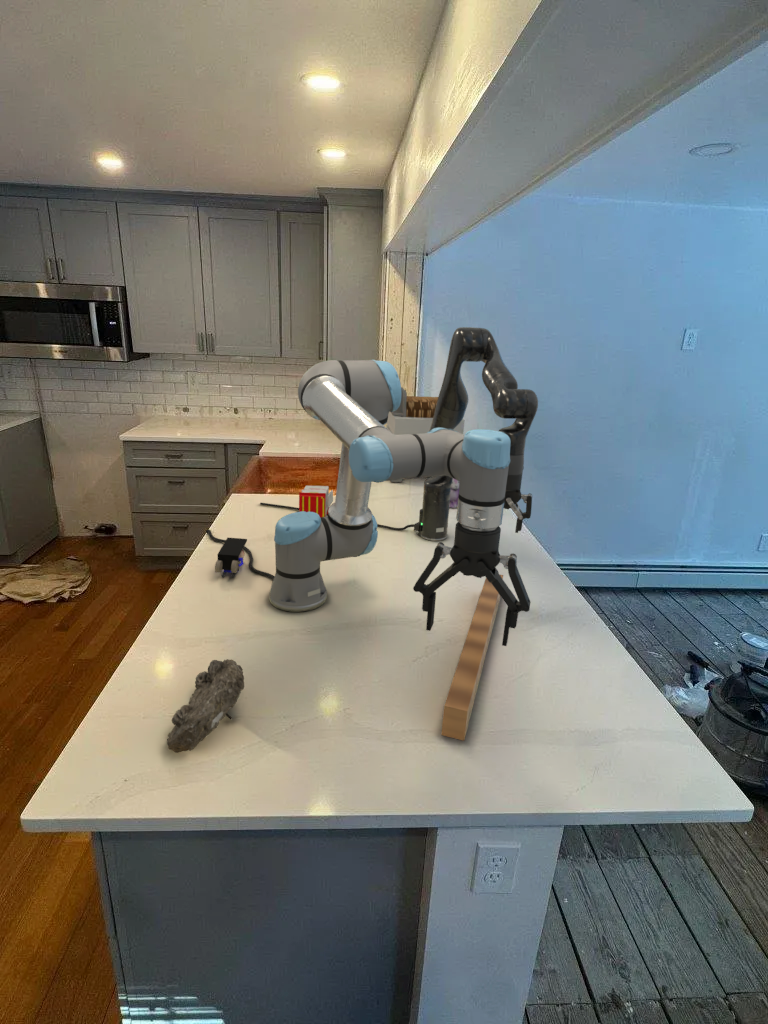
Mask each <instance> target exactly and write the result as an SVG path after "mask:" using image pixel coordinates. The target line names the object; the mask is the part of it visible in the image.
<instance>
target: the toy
mask: <svg viewBox="0 0 768 1024" xmlns="http://www.w3.org/2000/svg"><path fill="white" fill-rule="evenodd" d="M329 489H330V487H329V485H305V487H304V488H303V489H301V492H300V491H299V492H298V508H299V510H298V512H301V511H305V512H309V511H310V512H315V513H317V514H318V515H319V516H320V517H327V515H326V514H328V510H329V507H330V506H331V505H332V504H333V503H334V490H333V489H330V490H329Z"/></svg>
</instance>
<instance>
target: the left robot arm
mask: <svg viewBox="0 0 768 1024" xmlns="http://www.w3.org/2000/svg"><path fill="white" fill-rule="evenodd" d="M401 387H402V384H401V380H400V377H399V374H398V371H397V369H396V368H395V366H394V365H393V364H392V363H390V362H389V361H386V360H375V359H354V360H353V359H352V360H351V359H348V360H347V359H345V360H344V359H341V360H339V359H329V360H324V361H320V362H318V363H316V364H314V365H313V366H310V367H309V368H308V369H307V370H306V371H305V372H304V374H303V375H302V376H301V379H300V381H299V383H298V387H297V396H298V401H299V403H300V406H301V408H302V409H303V410H304V411H305V412H306V414H307V415H309V417H310V418H312V419H314V420H317V421H321V422H322V424H324V425H325V427H327V429H328V430H329V431H330V432H331V433H332V434H333V435H334V436H335V437H336V438H337V439H338V440H339V442H340V443H341V449H340V457H339V464H338V465H339V467H338V473H337V476H338V477H337V483H336V492H335V499H334V502H332V503H331V505H330V506H329V510H328V516H327V515H326V517H320V516H319V515H318V514H317V513H315V512H310V511H309V512H305V511H301V512H299V511H295V512H291V513H288V514H286V515H284V516H282V517H281V518H280V519H278V521H277V522H276V523H275V526H274V537H273V540H274V549H275V550H274V552H275V555H274V557H275V574H274V575H273V574H271V573H269V572H266V571H262V570H259V569H256V568H255V567H254V566H253V565H254V556H253V554H252V551H251V550H250V549H249V548H248V547H247V546H246V545H245V546H244V548H243V551H245V552H246V553H247V554H248V556H249V564H248V568H249V569H250V570H251V571H252V572H254V573H256V574H258V575H262V576H265V577H268V578H270V579H272V580H273V581H272V583H271V586H270V590H269V602H270V604H271V606H273V607H274V608H276V609H278V610H281V611H284V612H289V613H302V612H309V611H313V610H315V609H318V608H320V607H321V606H323V605H324V604H325V603H326V602H327V599H328V596H327V595H328V591H327V587H326V584H325V582H324V579H323V575H322V573H321V562H327V561H334V560H341V559H347V558H358V557H361V556H364V555H368V554H370V553H371V552H373V550H374V549H375V546H376V545H377V542H378V538H379V537H378V535H379V531H378V530H377V529H378V527H377V524H378V522H377V519H376V517H375V515H374V514H373V512H372V510H371V509H370V507H369V501H370V493H371V487H372V483H377V484H379V483H383V482H389V481H390V482H391V480H400V479H402V480H406V479H407V480H408V479H420V478H431V477H433V476H443V475H446V476H450V477H452V478H454V479H456V480H458V481H460V482H459V495H458V506H457V507H456V517H455V519H456V521H457V522H456V523H455V527H454V537H453V538H454V539H453V546H452V547H450V546H446V545H445V543H444V542H442V541H438V543H437V545H436V546H435V547H434V551H433V557H432V558H431V559H430V561H429V562H428V564H427V565H426V567H425V569H424V570H423V572H422V573H421V574H420V576H419V577H418V579H417V580H416V582H415V584H414V585H413V587H412V590H413V591H414V592H415V593H420V594H422V604H421V609H422V611H423V612H426V613H427V615H426V616H427V617H426V626H425V631H428V632H430V631H431V630H432V628H433V626H434V623H435V610H436V599H437V597H436V596H437V592H436V591H437V590H438V589H439V588H440V587H441V586H443V585H444V584H445V583H447V582H448V581H449V580H450V579H451V578H453V577H455V576H456V575H457V574H458V573H461V574H463V576H466V577H470V576H472V577H474V578H478V579H482V578H484V577H485V579H486V578H487V579H488V581H489V582H490V583H492V585H493V586H494V588H495V589H496V590H497V592H498V593H499V595H500V596H501V597H500V598H501V599H502V600H503V602H504V604H506V606H507V608H506V612H505V618H504V619H505V620H504V627H503V635H502V643H501V646H503V647H507V645H508V640H509V633H510V629H516V627H517V624H518V616H519V613H520V612H525V613H528V612H529V611H530V609H531V599H530V596H529V594H528V591H527V589H526V586H525V584H524V581H523V579H522V576H521V573H520V571H519V569H518V566H517V565H518V563H517V562H518V561H517V560H518V558H517V557H518V556H517V554H516V553H509V555H503V554H500V551H499V549H500V540H501V532H502V528H501V527H500V526H501V525H502V523H503V516H504V498H505V491H506V484H507V476H508V469H509V464H510V443H511V441H510V438H509V436H508V435H507V434H505V433H503V432H500V431H499V430H493V429H486V428H485V429H483V428H478V429H476V428H475V429H470V430H468V431H466V432H465V434H464V433H463V434H461V433H458V432H457V431H454V430H453V429H446V428H434V429H432V430H430V431H429V432H427V433H423V434H403V435H395V434H393V433H392V432H391V431H389V430H388V429H387V428H386V425H387V420H388V414H389V411H390V412H393V411H396V410H397V409H398V408H399V406H400V403H401ZM205 533H206V534H208V536H209V538H210V539H211V540H213V541H214V542H218V543H223V544H224V543H225V541H226V539H221V538H218V537H216V536H214V535H213V533H212V531H211V529H209V528H207V529H206V530H205ZM447 556H450V558H451V559H452V563H451V564H450V566H448V567H447V568H446V569H444V571H442V572H441V573H440V574H439V575H437V577H435V578H433V580H432V581H430V582H429V583H427V584H425V583H426V581H427V580H428V579H429V577H430V576H431V574H432V573H433V571H434V570H435V569H436V567H437V565H438V564H439V562H440V561H441V559H445V558H446V557H447ZM499 564H501V565H502V566H503V568H504V569H505V570H507V574H508V576H509V579H510V581H511V585H512V586H513V589H514V592H515V594H516V596H515V594H514V593H513V591H512V590H511V589H510V587H509V586H508V585H507V583H506V582H505V580H504V578H503V579H502V578H501V576H500V575H501V574H500V573H499V570H498V569H497V566H498V565H499Z"/></svg>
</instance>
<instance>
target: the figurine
mask: <svg viewBox="0 0 768 1024" xmlns="http://www.w3.org/2000/svg"><path fill="white" fill-rule="evenodd" d="M459 482H460V481H458V480H456V479H454V478H453V481H452V485H451V493H450V505H449V508H452V509H457V506H458V495H459Z"/></svg>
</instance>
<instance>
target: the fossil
mask: <svg viewBox="0 0 768 1024" xmlns="http://www.w3.org/2000/svg"><path fill="white" fill-rule="evenodd" d="M243 670H244V669H243V667H242V665H240V664H237V662H236V661H235V660H234V659H232V658H231V659H227V658H226V659H224V660H223V661H222V660H217V659H212V660H211V661H210V663H209V665H208V666H207V671H201V672H199V673H198V674H197V675H196V676H195V680H194V684H195V685H194V687H195V689H194V690H193V693H192V694H191V697H190V698H189V700H188V704H184V705H182V706H181V707H180V709H177V710H176V711H175V713H174V715H173V716H172V718H171V723H172V724H173V727H172V730H171V731H170V732H168V734H167V738H166V741H167V742H166V745H167V749H168V750H169V751H173V752H174V753H176V754H178V753H182V752H188V751H189V752H192V751H193V750H195V748H196V747H197V746H199V744H200V743H201V742H203V741H204V740H205V739H206V738H207V737H208V736H209V735H210V734H211V733H212V732H214V730H215V729H217V727H218V726H219V724H220V722H221V721H222V720H223V719H224V718H225V716H226V717H227V719H229V720H233V717H232V715H230V714H229V710H230V709H231V708H234V706H235V704H236V703H237V702H238V699H239V697H240V695H241V693H242V691H243V690H245V689H244V688H245V675H244V671H243Z"/></svg>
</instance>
